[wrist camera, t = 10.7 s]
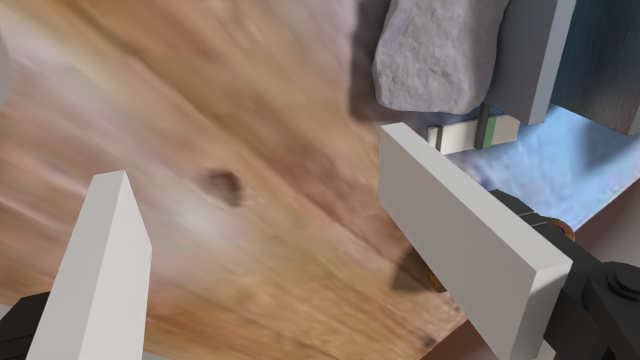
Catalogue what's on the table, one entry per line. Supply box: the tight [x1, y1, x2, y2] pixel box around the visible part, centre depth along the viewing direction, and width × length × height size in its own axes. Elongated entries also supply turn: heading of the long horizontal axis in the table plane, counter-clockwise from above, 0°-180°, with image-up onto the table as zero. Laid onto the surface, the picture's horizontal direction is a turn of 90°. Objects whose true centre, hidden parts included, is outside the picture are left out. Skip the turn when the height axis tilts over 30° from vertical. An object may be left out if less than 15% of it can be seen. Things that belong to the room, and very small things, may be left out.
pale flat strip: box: [427, 114, 520, 155], centre depth 39 cm, size 3×10×1 cm, turn 93°
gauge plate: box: [474, 0, 576, 150], centre depth 32 cm, size 19×2×7 cm, turn 3°
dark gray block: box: [549, 0, 640, 136], centre depth 32 cm, size 16×6×10 cm, turn 3°
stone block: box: [371, 0, 509, 115], centre depth 32 cm, size 12×5×10 cm
